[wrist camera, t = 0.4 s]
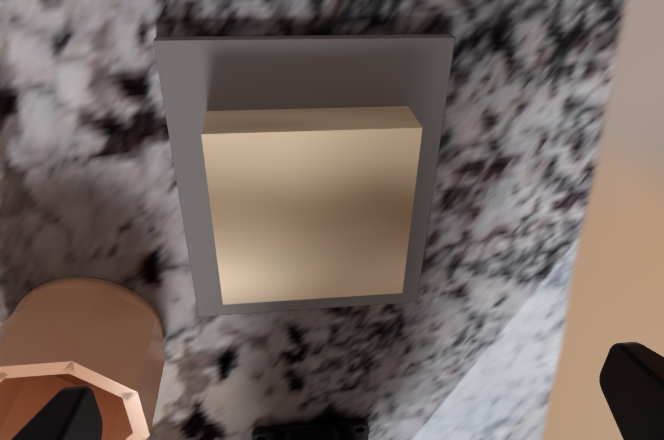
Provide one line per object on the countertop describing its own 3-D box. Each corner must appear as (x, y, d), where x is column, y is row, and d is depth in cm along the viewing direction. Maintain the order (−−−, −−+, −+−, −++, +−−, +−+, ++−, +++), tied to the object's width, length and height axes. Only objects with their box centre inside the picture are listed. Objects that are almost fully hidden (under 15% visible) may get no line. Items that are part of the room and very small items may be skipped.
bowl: (173, 372, 26) (157, 462, 22) (37, 383, 25) (-5, 478, 21) (151, 271, 22) (127, 356, 18) (-8, 280, 21) (-68, 371, 18)
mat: (414, 294, 25) (416, 302, 24) (199, 309, 23) (198, 316, 23) (450, 34, 18) (455, 37, 18) (156, 36, 17) (153, 40, 17)
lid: (391, 262, 23) (402, 293, 21) (225, 272, 22) (222, 304, 20) (408, 105, 19) (422, 127, 17) (206, 110, 18) (200, 134, 16)
